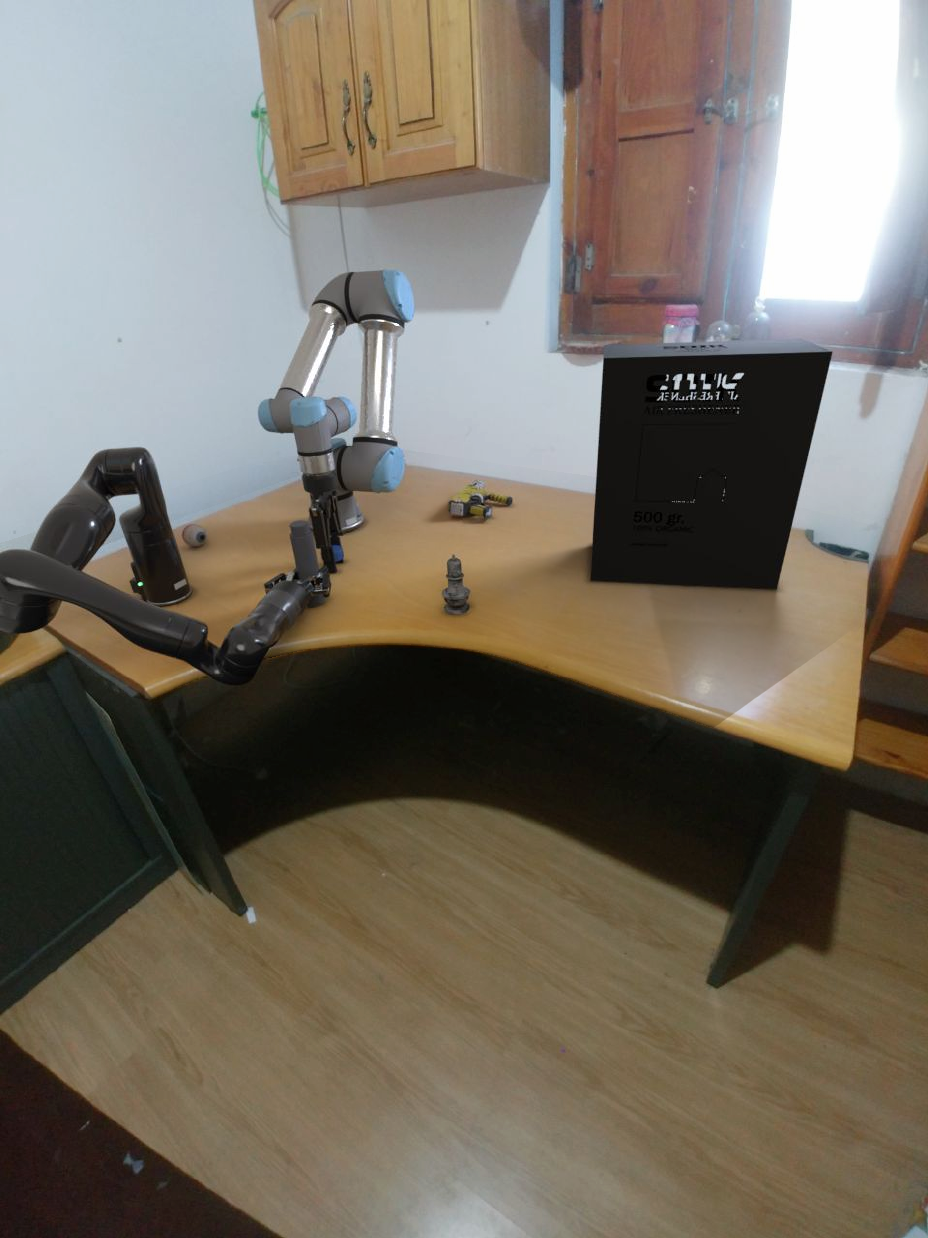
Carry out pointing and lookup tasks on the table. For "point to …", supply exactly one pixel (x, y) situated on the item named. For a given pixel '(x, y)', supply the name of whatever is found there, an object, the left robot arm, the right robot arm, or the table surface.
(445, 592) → the dark grey chess piece
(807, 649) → the table surface
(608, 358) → the cardboard box
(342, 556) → the lid
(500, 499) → the toy gun
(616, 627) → the table surface
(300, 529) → the dark gray cylinder
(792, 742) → the table surface
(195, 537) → the eyeball
